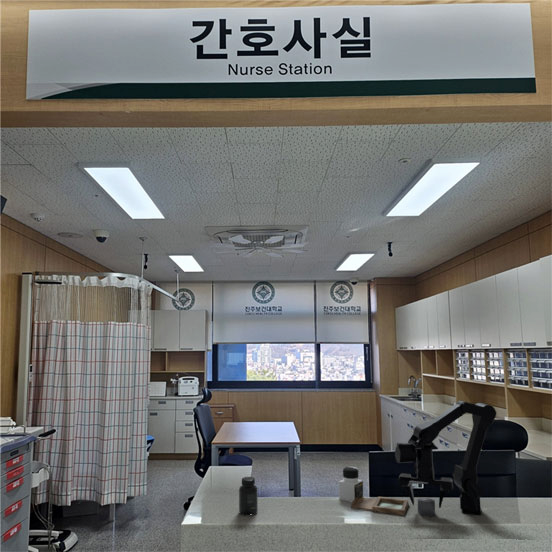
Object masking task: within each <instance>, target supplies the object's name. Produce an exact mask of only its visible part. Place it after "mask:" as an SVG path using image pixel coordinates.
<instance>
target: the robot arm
mask: <svg viewBox="0 0 552 552" xmlns="http://www.w3.org/2000/svg"><path fill="white" fill-rule="evenodd" d="M465 414H470V415H471V418H472V429H471V432H470V436H469V439H468V442H467V447H466V449H465V454H464V457H463V461H462V462H461V463H460V465H457V464H455V466H454V471H453V472H452V474H451V475H452V476H453V478H452V477H443V476H442V477H440V479H435V469H434V462H433V461H434V459H433V450H439V447H437V445H435V443H434V440H436V438H438V436H439V434H440V432H441V431H442V430H444V429H445V428H447V427H448V426H450V425H451V424H452V423H453V422H455V421H457V420H458V419H460V418H461V417H462V416H464V415H465ZM496 417H497V411H496V409H495V407H494V406H492V405H490V404H487V403H483V402H477V403H472V402H467V401H464V400H458V401H457V402H456V403H455V404H454V405H452V406H450V407H449V408H448V409H446V410H444V411H443V412H442V413H440V414H439V415H438V416H437V417H435V418H434V419H431V420H429V421H425V422H423V423H420V424H418V425H416V426H415V427H414V428H413V431H412V435H411V436H410V438H409V439H408V440H407V442H404V443H403V442H396V446H395V450H394V456H395V461H396V463H398V464H402V463H403V464H405V463H406V464H407V463H414V462H416V463H414V473H415V474H416V477H413V476H412V475H411V473H403V472H402V473H400V474H399V476H398V479H397V480H398V485H399V486H401V487H402V489H405V491H406V493H407V494H408V497H409V499H410V501H411V503H412V506H414V505H415V497H414V490H413V484H420V485H428V486H429V485H430V486H439V487H440V490H439V498H438V499H439V501H438V508H439V509H441V508H442V504H443V500H444V497H445V495H446V494H448V493H450V491H453V490H454V485H456V486H457V487H458V490H459V491H461V493H460V496H459V508H460V509H461V513H462V514H463V513H465V514H472V515H482V506H481V498H482V497H483V495H484V492H485V491H484V490H483V489H482V487H480V486H479V485H478V472H477V466H478V463H479V459H480V455H481V452H482V448H483V445H484V441H485V437H486V433H487V431H488V429H489V428H490V427H491V426H492V425H493V423H494V421H495V419H496Z"/></svg>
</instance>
